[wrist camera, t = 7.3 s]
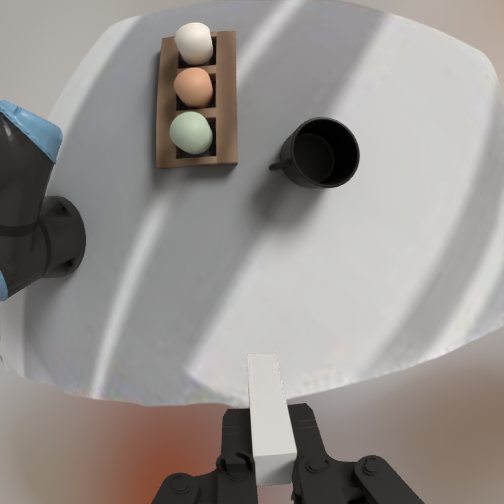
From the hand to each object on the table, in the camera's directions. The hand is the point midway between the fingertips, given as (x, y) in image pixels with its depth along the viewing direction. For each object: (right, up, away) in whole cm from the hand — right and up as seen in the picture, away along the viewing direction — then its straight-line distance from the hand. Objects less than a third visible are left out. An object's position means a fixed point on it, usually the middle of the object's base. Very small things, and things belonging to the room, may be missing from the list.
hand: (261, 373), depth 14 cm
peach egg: (-9, +31, +23) cm, 39 cm away
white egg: (-9, +38, +19) cm, 43 cm away
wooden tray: (-9, +31, +24) cm, 40 cm away
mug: (+7, +21, +27) cm, 35 cm away
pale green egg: (-9, +23, +23) cm, 34 cm away
